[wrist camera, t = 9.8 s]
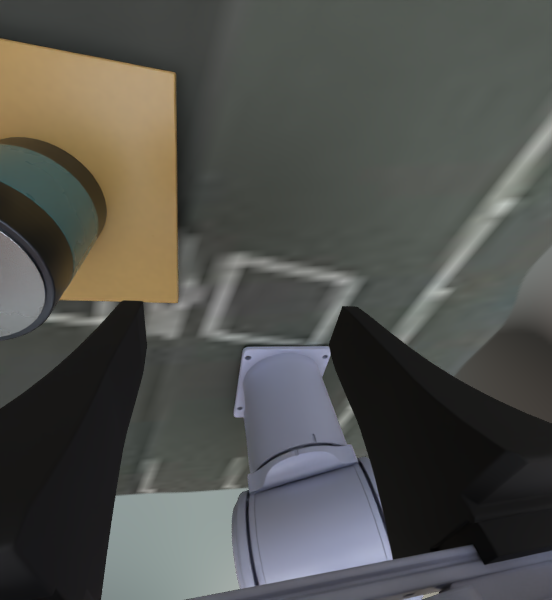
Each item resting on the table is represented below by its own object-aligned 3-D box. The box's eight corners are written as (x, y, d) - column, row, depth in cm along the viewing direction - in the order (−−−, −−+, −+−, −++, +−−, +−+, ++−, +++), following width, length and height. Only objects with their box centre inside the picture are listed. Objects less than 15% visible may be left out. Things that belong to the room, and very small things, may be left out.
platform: (180, 282, 22) (177, 303, 20) (-28, 273, 19) (-55, 297, 17) (178, 71, 15) (174, 72, 13) (-145, 8, 12) (-213, -3, 10)
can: (113, 253, 17) (70, 344, 12) (-4, 246, 16) (-117, 345, 10) (98, 146, 14) (29, 199, 9) (-49, 126, 13) (-244, 174, 7)
